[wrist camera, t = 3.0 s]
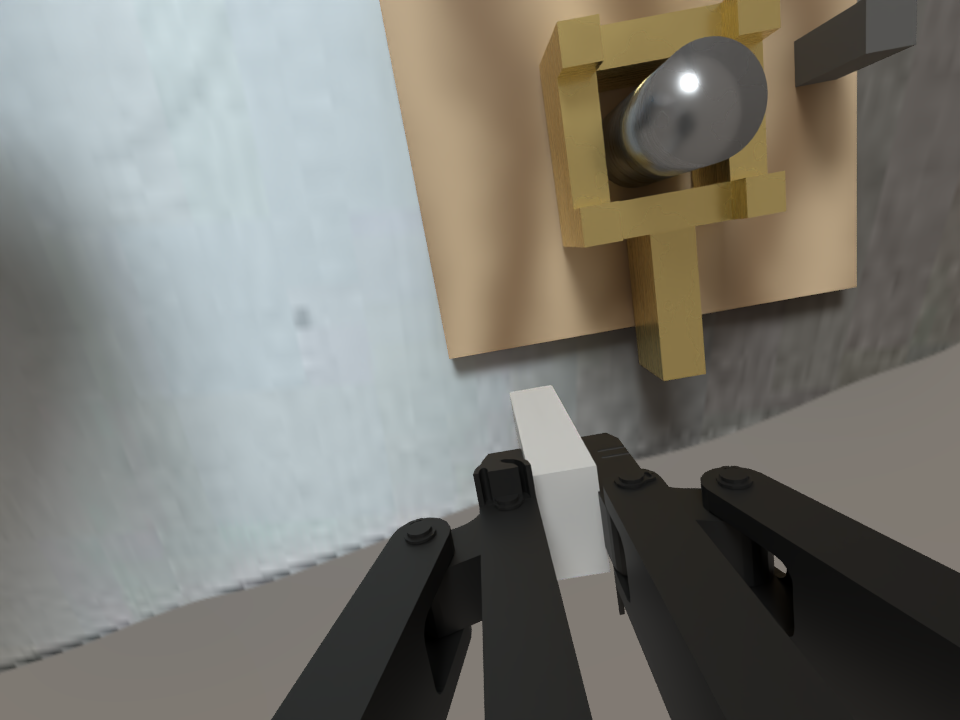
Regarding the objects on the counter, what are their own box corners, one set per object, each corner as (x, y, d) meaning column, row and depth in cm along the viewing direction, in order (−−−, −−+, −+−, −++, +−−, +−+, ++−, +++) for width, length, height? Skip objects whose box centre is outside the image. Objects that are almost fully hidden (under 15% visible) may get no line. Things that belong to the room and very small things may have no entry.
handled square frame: (539, 65, 23) (556, 21, 19) (716, 32, 23) (779, -21, 19) (580, 373, 27) (603, 401, 22) (734, 346, 27) (791, 368, 22)
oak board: (450, 354, 28) (449, 359, 27) (379, -7, 24) (375, -20, 23) (840, 285, 28) (856, 286, 26) (837, -94, 23) (857, -112, 22)
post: (593, 196, 26) (656, 173, 17) (583, 115, 25) (645, 47, 17) (668, 183, 26) (770, 153, 17) (661, 100, 25) (765, 25, 16)
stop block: (795, 87, 24) (865, 53, 20) (794, 41, 24) (866, -3, 19) (836, 79, 24) (916, 44, 20) (835, 33, 24) (917, -13, 19)
